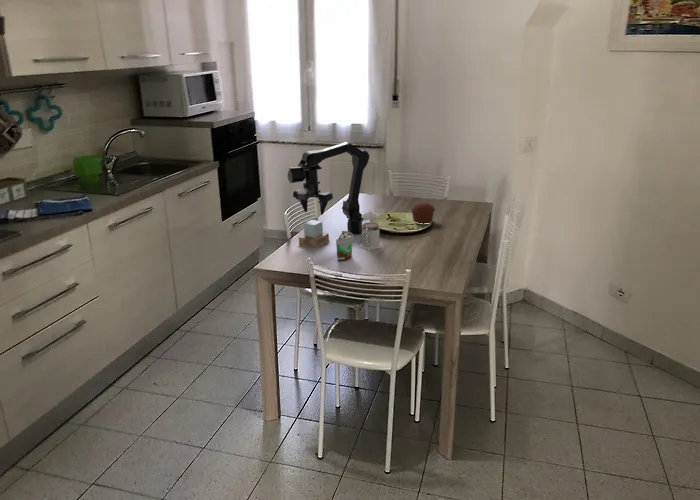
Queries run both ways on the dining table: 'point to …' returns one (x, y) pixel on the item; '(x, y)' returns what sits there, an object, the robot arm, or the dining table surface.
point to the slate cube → (313, 228)
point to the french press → (370, 231)
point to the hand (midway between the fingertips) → (313, 213)
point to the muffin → (422, 212)
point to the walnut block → (314, 240)
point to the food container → (344, 246)
